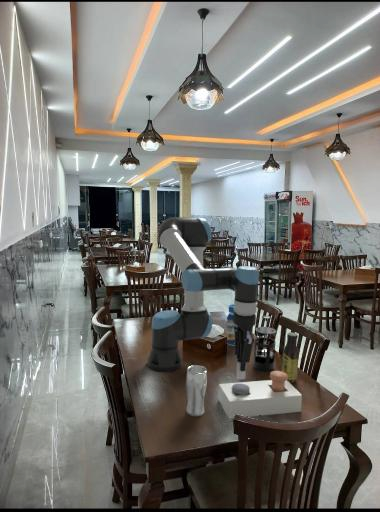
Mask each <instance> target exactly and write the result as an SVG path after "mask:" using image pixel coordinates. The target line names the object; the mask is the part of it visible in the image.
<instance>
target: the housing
mask: <svg viewBox="0 0 380 512" xmlns="http://www.w3.org/2000/svg"><path fill="white" fill-rule="evenodd" d="M234 384H245V385H247V386H249V388H250V392H249V393H248V394H247V395H238V396H236V395H235V393H234V392H233V391H232V386H233V385H234ZM217 399H218V401H219V404H220V406H221V407H222V408H223V410H224V412H225V414H226V416H227V418H228V419H234V418H233V417H234V415H235V414H239V415H243V416H248V417H247V418H250V417H251V418H252V417H259V415H261V416H270V415H280V414H290V413H291V414H292V413H299V412H302V400H303V395H302V393H301V392H299V391H298V390H297V388H295V387H294V386H293V384H292V383H289V382H288V381H287V380H286V381H285V387H284V392H274V391H273V390H272V379H270V380H269V379H268V380H257V381H256V380H255V381H243V382H229V383H228V382H227V383H219V384H218V398H217Z"/></svg>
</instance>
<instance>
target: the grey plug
mask: <svg viewBox="0 0 380 512" xmlns="http://www.w3.org/2000/svg"><path fill="white" fill-rule="evenodd" d="M232 391H233V392H234V393H235V395H236V396H238V395H247V394H248V393H249V392H250V388H249V386H247V385H245V384H234V385H233V386H232Z"/></svg>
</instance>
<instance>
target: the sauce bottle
mask: <svg viewBox="0 0 380 512" xmlns="http://www.w3.org/2000/svg"><path fill="white" fill-rule="evenodd" d="M298 336H299V334H298V333H296V332H291V331H290V332H287V334H286V337H287V339H286V344H285V345H284V348H283V350H282V356H281V357H282V358H281V359H282V360H281V372H284V373H286V374H287V375H288V378H287V381H288V382H289V383H290V384H294V383H296V381H297V378H298V368H299V367H298V366H299V354H300V352H299V350H300V349H299V348H298V346H297V345H298V344H297V342H298V341H297V340H298Z"/></svg>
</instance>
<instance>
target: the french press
mask: <svg viewBox="0 0 380 512" xmlns="http://www.w3.org/2000/svg"><path fill="white" fill-rule="evenodd" d="M261 318H262V319H263V320H265V326H259V327H256V328H255V331H256V332H255V335H256V336H257V337H256V338H254V346H253V347H254V349H253V350H254V351H253V364H252V367H253V368H254V369H255V370H257V371H260V372H272V371H275V356H276V355H275V354H276V353H275V352H276V344H277V343H276V340H275V339H274V338H275V337H276V333H277V330H276V329H275V328H272V327H267V323H268V320H271V319H272V317H271V315H270V316H269V315H262V316H261ZM267 335H271V336H272V337H274V338H270V337H267ZM267 341H268V342H271V343H270V344H269V343H268V344H266V342H267ZM271 348H272V351H271Z"/></svg>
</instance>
